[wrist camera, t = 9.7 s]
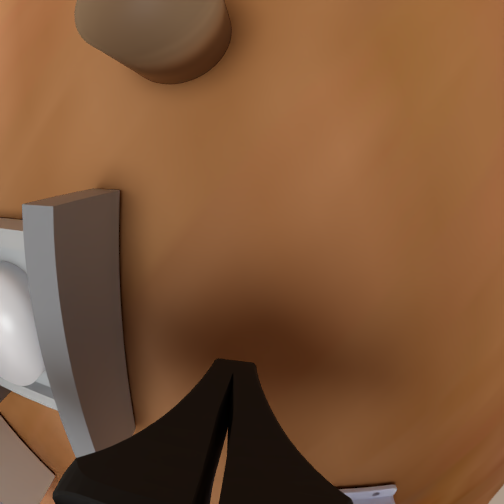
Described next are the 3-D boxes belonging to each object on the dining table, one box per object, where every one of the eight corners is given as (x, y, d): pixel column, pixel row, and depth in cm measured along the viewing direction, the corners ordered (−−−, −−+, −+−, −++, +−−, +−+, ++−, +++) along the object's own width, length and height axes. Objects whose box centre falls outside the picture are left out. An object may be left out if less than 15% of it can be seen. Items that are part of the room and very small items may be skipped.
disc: (-28, 254, 11) (-50, 263, 10) (49, 269, 11) (25, 283, 10) (-7, 351, 13) (-24, 365, 11) (69, 381, 13) (53, 400, 11)
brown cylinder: (237, -7, 9) (224, -68, 5) (224, 85, 10) (201, 47, 6) (138, -2, 9) (94, -49, 5) (120, 85, 10) (61, 60, 6)
